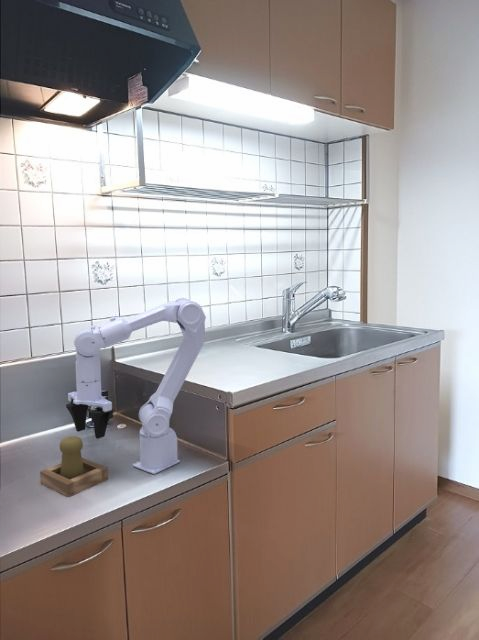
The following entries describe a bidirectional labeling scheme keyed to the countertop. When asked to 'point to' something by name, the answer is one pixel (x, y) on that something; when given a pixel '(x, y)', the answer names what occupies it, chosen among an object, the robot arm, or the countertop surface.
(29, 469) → the countertop surface
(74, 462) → the olive rounded peg
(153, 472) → the robot arm
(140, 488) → the countertop surface
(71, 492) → the socket block
